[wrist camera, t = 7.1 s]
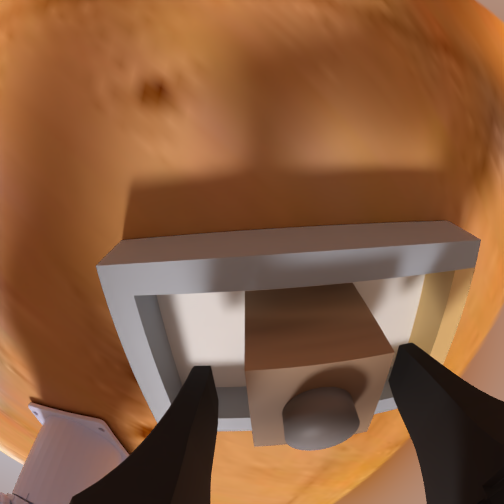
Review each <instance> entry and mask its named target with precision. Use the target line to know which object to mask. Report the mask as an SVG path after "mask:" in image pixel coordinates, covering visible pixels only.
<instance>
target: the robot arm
mask: <svg viewBox="0 0 504 504" xmlns="http://www.w3.org/2000/svg"><path fill="white" fill-rule="evenodd" d="M388 381H389V385H390V388H391V391H392V395H393V398H394V401H395V403H396V406H397V408H398V410H399V412H400V414H401V417H402V419H403V421H404V423H405V425H406V428H407V430H408V432H409V434H410V437H411V439H412V441H413V444H414V446H415V449H416V452H417V456H418V460H419V463H420V467H421V472H422V476H423V481H424V486H425V493H426V501H427V504H504V402H503V401H501V400H498V399H496V398H494V397H492V396H490V395H488V394H486V393H484V392H482V391H480V390H478V389H477V388H475V387H474V386H472V385H470V384H469V383H467V382H466V381H464V380H463V379H461V378H460V377H458V376H457V375H456V374H454V373H453V372H451V371H450V370H449V369H447V368H446V367H445V366H443V365H442V364H441V363H439V362H438V361H437V360H435V359H434V358H433V357H431V356H430V355H429V354H427V353H426V352H425V351H424V350H422V349H421V348H420V347H418V346H417V345H415V344H414V343H407V344H402V345H399V348H398V351H397V355H396V358H395V361H394V365H393V368H392V371H391V374H390V377H389V380H388ZM28 407H29V408H30V410H31V411H32V412H33V414H34V415H35V416H36V418H37V419H38V420H39V421H40V423H41V424H42V425H43V426H42V428H41V430H40V432H39V434H38V436H37V438H36V440H35V442H34V444H33V446H32V448H31V450H30V453H29V455H28V457H27V459H26V461H25V464H24V467H23V468H22V471H21V473H20V475H19V478H18V480H17V483H16V485H15V488H14V490H13V493H12V494H13V495H12V494H8V493H7V495H5V494H4V493H0V504H210V485H211V471H212V464H213V457H214V450H215V443H216V435H217V428H218V407H219V400H218V395H217V391H216V387H215V382H214V378H213V373H212V369H211V366H194V367H193V368H192V369H191V371H190V373H189V375H188V377H187V379H186V381H185V382H184V384H183V386H182V388H181V389H180V391H179V393H178V394H177V396H176V398H175V399H174V401H173V402H172V404H171V405H170V407H169V408H168V410H167V411H166V413H165V414H164V415H163V417H162V418H161V420H160V421H159V422H158V424H157V425H156V426H155V428H154V429H153V430H152V431H151V433H150V434H149V435H148V436H147V437H146V438H145V440H144V441H143V442H142V443H141V444H140V445H139V446H138V447H137V448H136V449H135V450H134V451H133V452H132V453H131V454H130V455H129V454H128V453H127V451H126V450H125V449H124V447H123V446H122V445H121V444H120V442H119V441H118V439H117V438H116V437H115V435H114V434H113V433H112V431H111V430H110V428H109V427H108V425H107V424H106V423H105V422H104V421H103V420H101V419H98V418H93V417H88V416H83V415H78V414H74V413H69V412H65V411H61V410H57V409H53V408H49V407H46V406H42V405H39V404H35V403H31V402H30V403H29V405H28Z"/></svg>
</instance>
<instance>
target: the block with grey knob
mask: <svg viewBox="0 0 504 504" xmlns="http://www.w3.org/2000/svg"><path fill="white" fill-rule="evenodd" d="M394 353H395V352H394V350H393V348H392V346H391V345H390V343H389V341H388V340H387V338H386V336H385V335H384V333H383V331H382V329H381V328H380V326H379V324H378V323H377V321H376V320H375V318H374V316H373V315H372V313H371V311H370V310H369V308H368V306H367V305H366V303H365V302H364V300H363V298H362V297H361V295H360V294H359V292H358V291H357V289H356V287H355V286H354V284H353V283H342V284H331V285H320V286H308V287H296V288H283V289H269V290H255V291H245V355H244V371H245V379H246V388H247V396H248V403H249V411H250V419H251V427H252V434H253V441H254V446H271V445H283V444H288V445H289V446H291V447H293V448H295V449H299V450H320V449H325V448H329V447H332V446H335V445H337V444H340V443H342V442H344V441H345V440H347V439H348V438H350V437H351V436H352V435H353V434H357V433H362V432H367V430H368V427H369V425H370V423H371V420H372V418H373V415H374V412H375V410H376V407H377V405H378V402H379V399H380V396H381V394H382V391H383V388H384V385H385V382H386V379H387V376H388V373H389V370H390V367H391V363H392V360H393V357H394Z"/></svg>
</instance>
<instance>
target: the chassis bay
mask: <svg viewBox="0 0 504 504" xmlns="http://www.w3.org/2000/svg"><path fill="white" fill-rule="evenodd" d="M480 241H481V240H480V239H478V238H477V237H475V236H474V235H472V234H470V233H468V232H467V231H465V230H463V229H462V228H460V227H458V226H456V225H455V224H453V223H451V222H449V221H419V222H392V223H368V224H346V225H326V226H308V227H290V228H274V229H258V230H243V231H229V232H215V233H202V234H189V235H176V236H164V237H152V238H140V239H129V240H121V241H120V242H119V243H118V244H117V245H116V246H115V247H114V248H113V249H112V250H111V251H110V252H109V253H108V254H107V255H106V256H105V257H104V258H103V259H102V260H101V261H100V262H99V263H98V264H97V265H96V268H97V272H98V275H99V279H100V282H101V286H102V289H103V292H104V295H105V299H106V302H107V305H108V308H109V311H110V314H111V317H112V319H113V322H114V325H115V328H116V331H117V333H118V336H119V339H120V341H121V344H122V346H123V349H124V351H125V354H126V356H127V359H128V361H129V364H130V366H131V368H132V371H133V373H134V375H135V378H136V380H137V382H138V384H139V386H140V389H141V391H142V393H143V395H144V397H145V399H146V401H147V403H148V405H149V408H150V410H151V412H152V414H153V415H154V417H155V419H156V421H157V423H158V422H159V421H160V420H161V418H162V417H163V415H164V414H165V413H166V411H167V410H168V408H169V407H170V405H171V404H172V402H173V401H174V399H175V398H176V396H177V394H178V393H179V391H180V389H181V388H182V386H183V384H184V382H185V381H186V379H187V377H188V375H189V373H190V371H191V369H192V368H193V367H194V366H211V369H212V373H213V378H214V382H215V387H216V391H217V395H218V400H219V407H218V428H217V431H251V430H252V427H251V419H250V411H249V403H248V396H247V388H246V379H245V371H244V355H245V291H255V290H269V289H283V288H296V287H308V286H320V285H331V284H342V283H353V284H354V286H355V287H356V289H357V291H358V292H359V294H360V295H361V297H362V298H363V300H364V302H365V303H366V305H367V306H368V308H369V310H370V311H371V313H372V315H373V316H374V318H375V320H376V321H377V323H378V324H379V326H380V328H381V329H382V331H383V333H384V335H385V336H386V338H387V340H388V341H389V343H390V345H391V346H392V348H393V350H394V352H395V353H394V357H393V360H392V363H391V367H390V370H389V373H388V376H387V379H386V382H385V385H384V388H383V391H382V394H381V396H380V399H379V402H378V405H377V407H376V410H375V412H374V414H377V413H381V412H385V411H389V410H393V409H397V406H396V403H395V401H394V398H393V395H392V391H391V388H390V385H389V381H388V380H389V377H390V374H391V371H392V368H393V365H394V361H395V358H396V355H397V351H398V348H399V345H402V344H407V343H414V344H415V345H417V346H418V347H420V348H421V349H422V350H424V351H425V352H426V353H427V354H429V355H430V356H431V357H433V358H434V359H435V360H437V361H438V362H439V363H441V364H442V365H443V363H444V361H445V358H446V356H447V354H448V351H449V349H450V346H451V343H452V341H453V338H454V335H455V333H456V330H457V327H458V324H459V321H460V318H461V315H462V312H463V309H464V306H465V302H466V299H467V296H468V292H469V289H470V285H471V281H472V277H473V273H474V269H475V265H476V261H477V256H478V251H479V246H480Z"/></svg>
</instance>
